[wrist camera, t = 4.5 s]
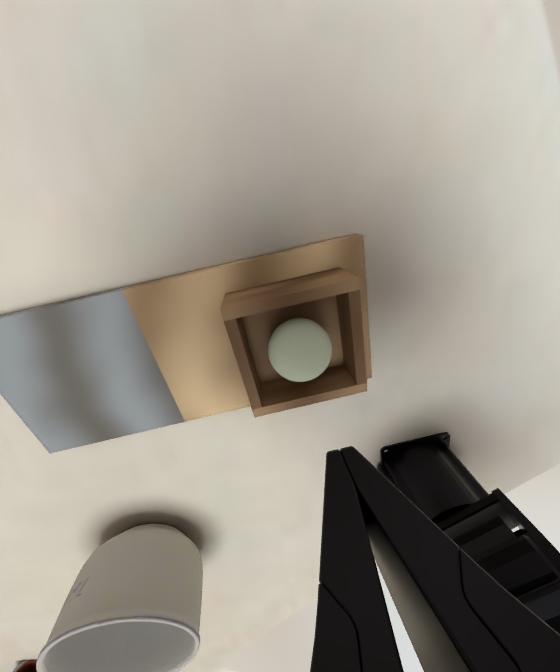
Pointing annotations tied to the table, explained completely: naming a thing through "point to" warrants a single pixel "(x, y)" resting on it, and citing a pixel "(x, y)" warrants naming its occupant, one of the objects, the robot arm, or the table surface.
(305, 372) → the sage ball
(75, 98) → the table surface
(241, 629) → the table surface
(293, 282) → the walnut box
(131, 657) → the teacup
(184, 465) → the table surface
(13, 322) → the flat board
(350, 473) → the robot arm
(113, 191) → the table surface
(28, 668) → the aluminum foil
